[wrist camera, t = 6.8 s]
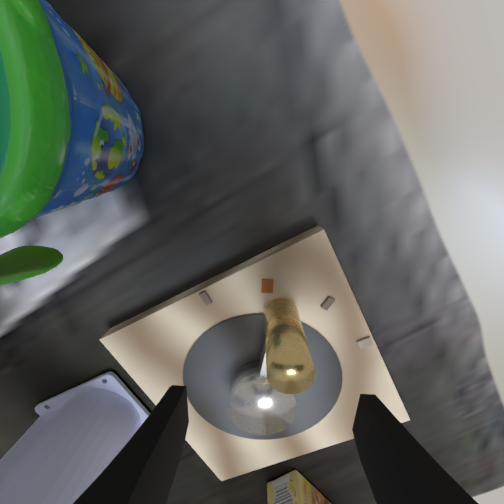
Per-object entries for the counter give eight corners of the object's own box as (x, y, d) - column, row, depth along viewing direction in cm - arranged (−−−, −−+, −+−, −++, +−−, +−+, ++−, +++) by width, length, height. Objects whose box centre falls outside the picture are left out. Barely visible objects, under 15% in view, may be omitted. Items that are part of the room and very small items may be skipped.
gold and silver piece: (285, 412, 20) (295, 500, 14) (226, 402, 20) (215, 488, 14) (318, 302, 17) (348, 364, 11) (249, 290, 16) (244, 347, 11)
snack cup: (14, -60, 12) (-847, -892, 3) (203, 24, 13) (56, -383, 4) (4, 215, 17) (-329, 265, 7) (145, 263, 18) (12, 365, 8)
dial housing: (223, 463, 25) (221, 483, 23) (110, 328, 20) (97, 341, 18) (400, 403, 22) (411, 422, 20) (318, 224, 17) (324, 230, 15)
